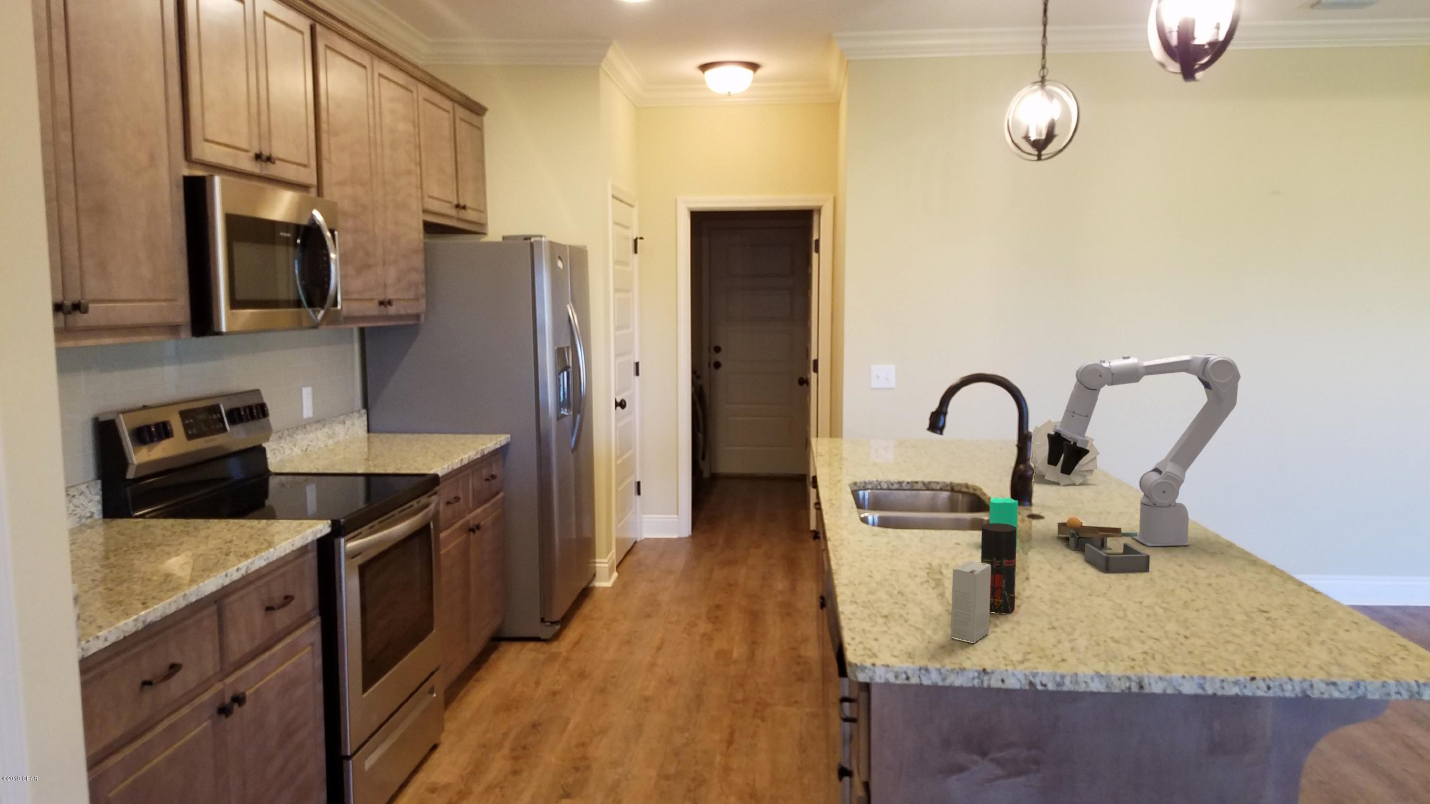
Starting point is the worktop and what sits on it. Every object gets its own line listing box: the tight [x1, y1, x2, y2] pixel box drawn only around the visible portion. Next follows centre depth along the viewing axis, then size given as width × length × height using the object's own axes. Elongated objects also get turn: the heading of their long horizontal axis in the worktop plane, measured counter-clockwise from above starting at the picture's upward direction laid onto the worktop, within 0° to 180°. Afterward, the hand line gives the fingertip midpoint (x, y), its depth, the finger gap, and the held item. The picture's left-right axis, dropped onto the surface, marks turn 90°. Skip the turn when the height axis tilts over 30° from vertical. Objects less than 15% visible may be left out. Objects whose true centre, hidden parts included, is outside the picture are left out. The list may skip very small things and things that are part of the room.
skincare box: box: [950, 560, 991, 644], centre depth 148 cm, size 6×4×12 cm
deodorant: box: [980, 522, 1018, 614], centre depth 161 cm, size 6×6×15 cm
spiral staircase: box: [1030, 419, 1101, 487], centre depth 271 cm, size 18×18×25 cm
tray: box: [1084, 542, 1151, 573], centre depth 186 cm, size 9×10×3 cm
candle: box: [989, 497, 1019, 548], centre depth 202 cm, size 6×6×12 cm
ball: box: [1066, 516, 1082, 527], centre depth 207 cm, size 3×3×3 cm
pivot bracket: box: [1064, 530, 1113, 552], centre depth 200 cm, size 9×4×4 cm, turn 92°
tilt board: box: [1057, 521, 1139, 539], centre depth 200 cm, size 10×20×3 cm, turn 2°
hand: (1058, 469), depth 206 cm, fingers open, 7 cm apart
